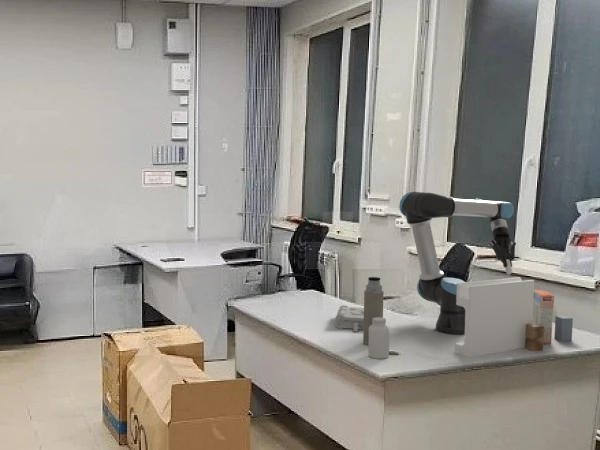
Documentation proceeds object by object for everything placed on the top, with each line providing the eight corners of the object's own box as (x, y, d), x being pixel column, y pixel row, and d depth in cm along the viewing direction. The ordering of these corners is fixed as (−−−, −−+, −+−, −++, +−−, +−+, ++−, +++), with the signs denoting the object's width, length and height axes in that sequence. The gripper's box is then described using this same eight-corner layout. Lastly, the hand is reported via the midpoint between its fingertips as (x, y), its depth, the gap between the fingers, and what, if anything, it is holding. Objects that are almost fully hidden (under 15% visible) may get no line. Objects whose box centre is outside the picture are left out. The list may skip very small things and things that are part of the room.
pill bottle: (366, 353, 242) (367, 316, 241) (386, 353, 243) (387, 316, 242) (370, 359, 234) (371, 321, 233) (390, 359, 235) (391, 320, 234)
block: (468, 357, 239) (471, 286, 237) (454, 351, 246) (456, 283, 244) (531, 346, 256) (534, 280, 254) (516, 341, 263) (518, 277, 261)
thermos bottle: (365, 340, 262) (367, 275, 260) (383, 342, 259) (385, 276, 257) (361, 344, 254) (362, 278, 252) (380, 347, 252) (381, 279, 250)
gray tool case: (332, 331, 277) (333, 315, 276) (338, 317, 304) (338, 302, 304) (375, 334, 274) (376, 318, 273) (377, 320, 301) (378, 305, 301)
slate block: (561, 341, 264) (562, 318, 264) (554, 338, 269) (555, 315, 269) (571, 340, 265) (572, 318, 264) (564, 337, 270) (565, 315, 269)
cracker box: (552, 344, 259) (554, 295, 258) (537, 343, 260) (539, 295, 258) (543, 335, 273) (546, 289, 271) (529, 335, 274) (531, 289, 272)
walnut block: (531, 351, 249) (532, 326, 248) (525, 347, 254) (526, 323, 253) (543, 350, 250) (544, 326, 249) (536, 347, 255) (537, 323, 254)
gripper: (508, 235, 304) (518, 277, 291) (484, 233, 302) (493, 275, 289) (515, 227, 297) (526, 270, 285) (490, 225, 295) (500, 268, 283)
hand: (509, 273), depth 287 cm, fingers closed
